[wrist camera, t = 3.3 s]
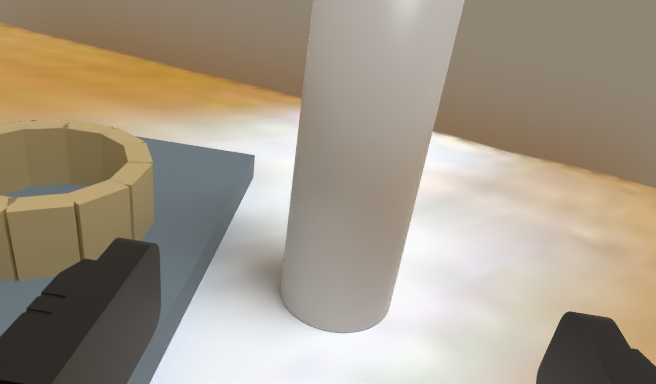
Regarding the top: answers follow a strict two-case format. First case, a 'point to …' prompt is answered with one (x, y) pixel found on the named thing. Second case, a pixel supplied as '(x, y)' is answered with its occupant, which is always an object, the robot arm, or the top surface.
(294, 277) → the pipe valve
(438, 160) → the top surface
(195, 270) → the socket plate
